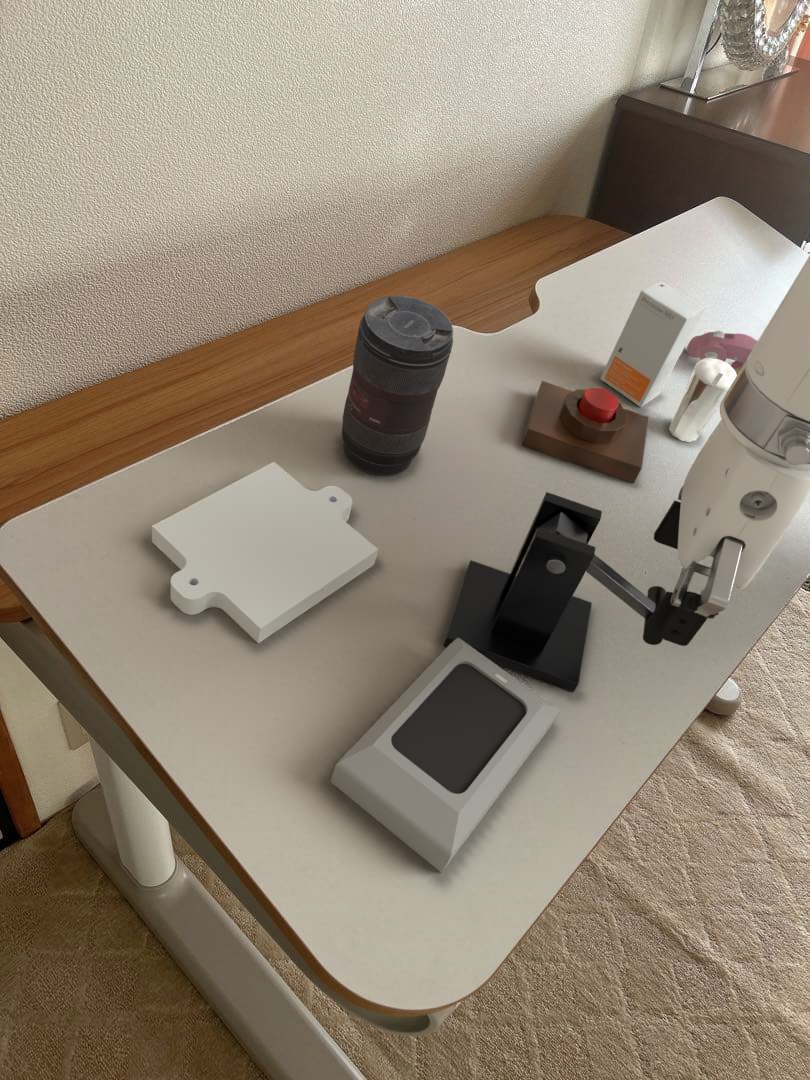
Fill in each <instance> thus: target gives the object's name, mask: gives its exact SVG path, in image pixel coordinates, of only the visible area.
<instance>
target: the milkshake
mask: <svg viewBox="0 0 810 1080" xmlns="http://www.w3.org/2000/svg"><path fill="white" fill-rule="evenodd" d="M736 376H737V374H736V372H735V370H734V369H733V368H732V367H731V364H729V363H728V362H727V361H725V362H724V361H722V360H719V359H712V358H705V359H702V360H701V359H700V360H698V361H697V362H696V363H695V365H694V367H693V370H692V372H691V375H690V377H689V379H688V382H687V385H686V388H685V389H684V390H685V391H684V393H683V395H682V397H681V399H680V401H679V404H678V406H677V408H676V410H675V412H674V415H673V417H672V419H671V422H670V424H669V428H668V430H669V432H670V434H671V435H672V436H673V438H674V437H675V438H676V439H678V440H679V441H682V442H685V443H691V442H695V441H697V439H698V438H699V437H700V435H701V433H702V432H703V431H704V429H705V428H706V427H707V426H708V424H709V422H710V421H711V419H712V418H713V417H714V415H715V414H716V412H717V411H718V409H720V404H721V401H722V399H723V398H724V396H725V395H726V393H727V391H728V389H729V388H730V386H731V384H732V383H733V381H734V379H735V378H736Z"/></svg>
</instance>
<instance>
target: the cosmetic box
mask: <svg viewBox="0 0 810 1080" xmlns="http://www.w3.org/2000/svg"><path fill="white" fill-rule="evenodd" d="M705 310H706V308H705V307H704V306H702V305H701V304H699V303H697V302H695V301H694V300H692V299H691V298H689V297H688V296H687V295H685V294H684V293H683V292H681V291H679V290H676V289H675V288H673V287H671V286H669V285H668V284H666V283H664V282H663V281H662V280H658V281H656V282H654V283H652V284H650V285H649V286H647V287H645V288H644V289H642V290H640V293H639V295H638V296H637V298H636V301H635V303H634V305H633V307H632V310H631V312H630V314H629V316H628V318H627V320H626V323H625V324H624V326H623V328H622V331H621V332H620V335H619V337H618V339H617V341H616V343H615V346H614V348H613V350H612V352H611V354H610V356H609V359H608V360H607V363H606V365H605V367H604V369H603V371H602V373H601V375H600V378H599V379H600V381H602V382H604V383H605V384H607V385H608V386H609V387H611V388H612V389H613V390H615V391H616V392H618V393H619V394H621V395H622V396H624V397H626V398H627V399H628V400H629V401H631V402H632V403H634V405H636V406H638V407H639V408H643V407H644V406H645V405H646V404H648V403H649V402H651V401H653V399H655V398H657V397H658V396H659V395H660V393H661V392H662V391H663V389H664V386H665V384H666V383H667V381H668V379H669V377H670V375H671V373H672V371H673V369H674V367H675V366H676V363H677V362H678V360H679V358H680V356H681V355H682V352H683V351H684V349H685V347H686V345H687V343H688V341H689V340H690V338H691V336H692V333H693V332H694V330H695V329H696V327H697V325H698V323H699V322H700V319H701V317H702V316H703V314H704V313H705Z"/></svg>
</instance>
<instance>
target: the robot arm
mask: <svg viewBox="0 0 810 1080" xmlns="http://www.w3.org/2000/svg"><path fill="white" fill-rule="evenodd" d="M757 341H758V342H757V343H756V345H755V346H754V348H753V350H752V351H751V353H750V355H749V356H748V358H747V360H746V361H745V363H744V365H743V366H742V368H741V370H740V371H739V373H738V374H737V376H736V378H735V379H734V381H733V383H732V384H731V386H730V388H729V389H728V391H727V393H726V395H725V396H724V398H723V399H722V401H721V404H720V407H719V415H720V418H721V419H720V421H719V422H718V424H717V425H716V426H715V428H714V429H713V431H712V432H711V434H710V435H709V437H708V438H707V440H706V441H705V443H704V445H703V446H702V448H701V449H700V451H699V452H698V455H697V456H696V458H695V459H694V461H693V463H692V465H691V467H690V468H689V470H688V471H687V473H686V476H685V479H684V481H683V485H682V486H681V488H680V490H679V493H678V496H677V500H675V499H674V501H673V502H672V503H671V505H670V507H669V508H668V510H667V512H666V513H665V514H664V516H663V518H662V520H661V521H660V523H659V525H658V526H657V528H656V530H655V531H654V533H653V540H654V541H655V542H656V543H658V544H661V545H663V546H667V547H669V548H671V549H675V550H677V559H678V561H679V564H680V565H681V567H682V568H681V571H680V573H679V576H678V578H677V580H676V583H675V585H674V588H673V591H666V594H665V595H664V597H663V598H662V600H661V601H660V603H659V604H658V606H657V607H656V609H655V610H654V612H653V613H652V614H651V616H650V617H649V619H648V620H647V622H646V623H645V632H646V633H648V634H650V635H653V636H656V637H658V638H661V639H663V640H664V641H667V642H670V643H671V644H675V645H678V646H681V647H686V646H688V645H689V644H690V643H691V642H692V640H693V639H694V638H695V636H696V635H697V634H698V632H699V631H700V629H701V628H702V627H703V625H704V624H706V621H707V620H708V619H709V620H710V619H714V618H715V617H716V616H718V615H719V613H721V612H722V611H725V610H726V609H727V607H728V605H729V603H730V600H731V596H732V592H733V587H735V588H736V589H739V590H742V589H744V588H746V587H747V586H748V585H749V584H750V583H751V582H752V581H753V580H754V578H755V577H756V575H757V574H758V573H759V571H760V570H761V569H762V567H763V566H764V564H765V563H766V561H767V560H768V558H770V556H771V555H772V553H773V551H774V550H775V548H776V547H777V545H778V544H779V542H780V541H781V539H782V538H783V536H784V535H785V534H786V532H787V530H788V529H789V527H790V526H791V524H792V522H793V521H794V519H795V517H796V515H798V513H799V511H800V509H801V507H802V506H803V504H804V502H805V500H806V499H807V496H808V495H809V493H810V255H808V257H807V259H806V261H805V262H804V264H803V266H802V267H801V269H800V270H799V272H798V274H797V276H796V277H795V279H794V280H793V282H792V284H791V285H790V287H789V289H788V290H787V292H786V293H785V296H784V297H783V299H782V300H781V302H780V303H779V305H778V307H777V309H776V311H775V312H774V313H773V315H772V317H771V319H770V320H769V322H768V324H767V325H766V326H765V329H764V330H763V331H762V334H761V335H760V337H759V338H758V340H757ZM707 557H711V558H712V563H711V567H710V566H708V565H707V566H706V565H704V564H701V563H699V562H701V561H703V560H704V559H706V558H707ZM695 573H697V574H699V575H702V576H705V577H708V578H707V582H706V585H705V587H704V588H703V589H702V590H700V593H697V592H694V591H689V587H690V585H691V582H692V580H693V577H694V574H695Z"/></svg>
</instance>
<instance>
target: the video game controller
mask: <svg viewBox="0 0 810 1080" xmlns="http://www.w3.org/2000/svg"><path fill="white" fill-rule="evenodd" d="M757 342H758V340H757V339H755V338H754V337H752V336H751V335H748V334H744V333H728V332H727V333H726V332H725V333H724V332H723V331H721V330H716V331H708V332H705V333H703V334H700V335H695V336H693V337H691V339H689V342H688V344H687V347H686V353H687V355H688V357H690V358H697V359H698V358H699V359H700V360H702V359H705V358H712V359H719V360H722V361H724V362H727V361H726V360H727V359H728V360H732V361H733V362H731V364H730V366H731V367H732V368H733V369H734V370H735V372H736V374H738V373H739V371H740V370H741V368H742V366H743V365H744V363H745V361H746V360H747V358H748V356H749V355H750V353H751V351H752V350H753V348H754V346H755V345H756V343H757Z"/></svg>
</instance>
